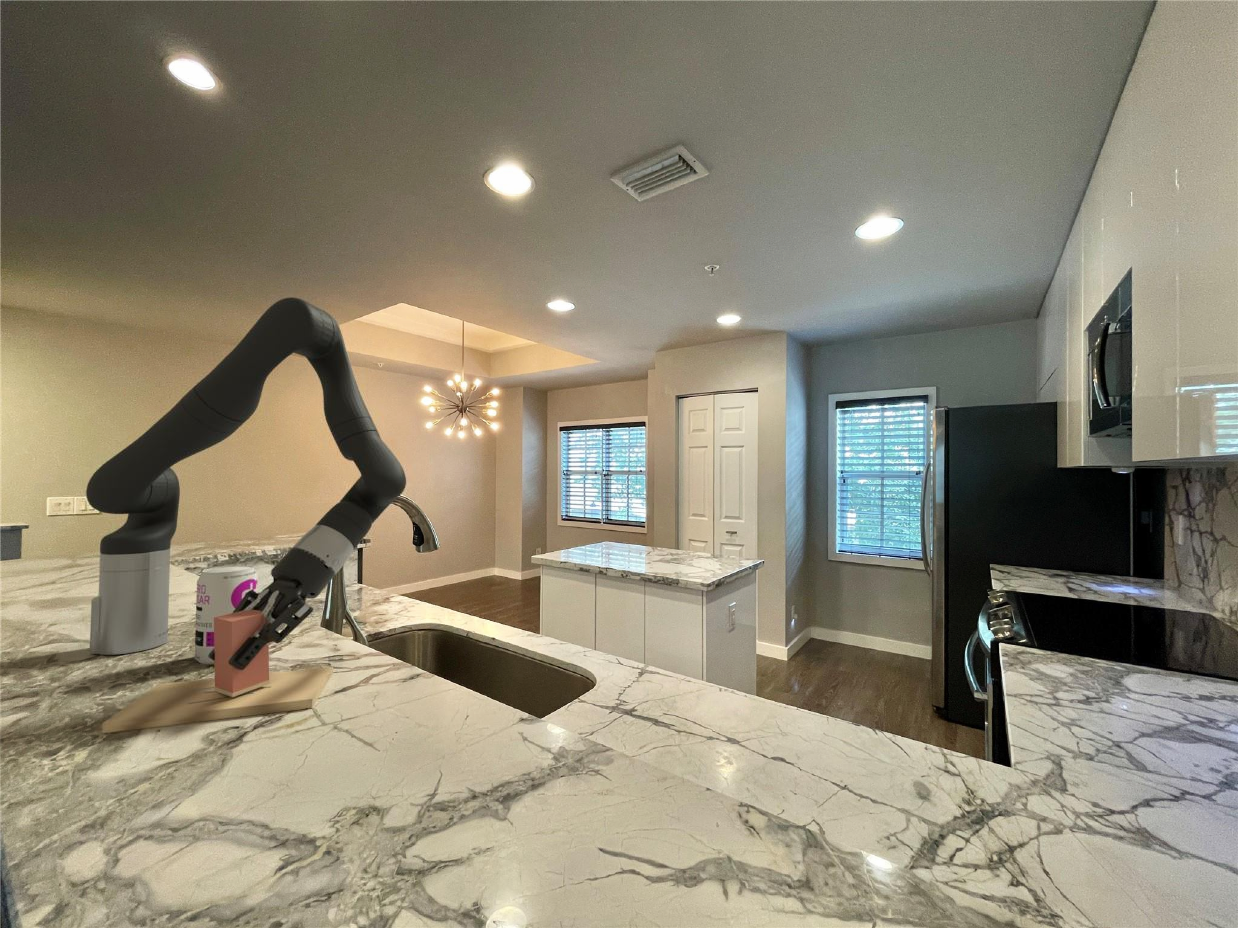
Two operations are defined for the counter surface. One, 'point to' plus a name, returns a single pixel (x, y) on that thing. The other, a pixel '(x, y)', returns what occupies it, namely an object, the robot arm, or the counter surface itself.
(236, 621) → the block
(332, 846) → the counter surface
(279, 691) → the oak board
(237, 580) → the supplement can
